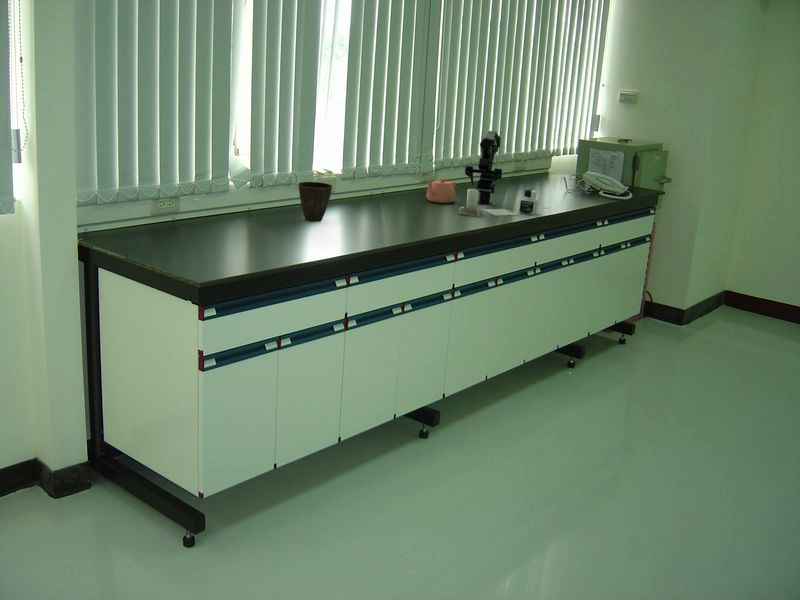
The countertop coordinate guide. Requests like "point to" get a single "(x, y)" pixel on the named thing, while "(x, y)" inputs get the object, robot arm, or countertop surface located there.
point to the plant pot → (314, 199)
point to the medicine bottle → (529, 203)
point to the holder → (470, 212)
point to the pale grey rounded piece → (472, 199)
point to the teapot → (441, 191)
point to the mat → (500, 212)
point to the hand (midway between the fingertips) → (481, 186)
